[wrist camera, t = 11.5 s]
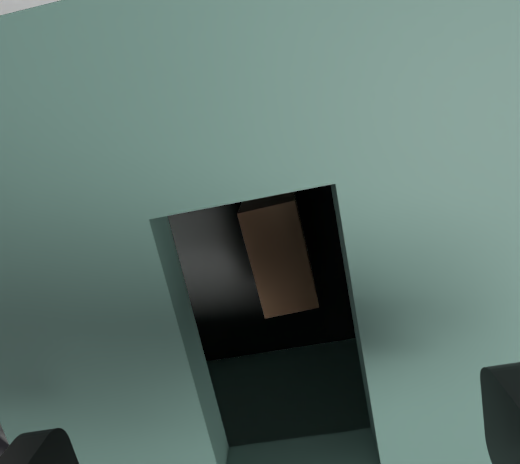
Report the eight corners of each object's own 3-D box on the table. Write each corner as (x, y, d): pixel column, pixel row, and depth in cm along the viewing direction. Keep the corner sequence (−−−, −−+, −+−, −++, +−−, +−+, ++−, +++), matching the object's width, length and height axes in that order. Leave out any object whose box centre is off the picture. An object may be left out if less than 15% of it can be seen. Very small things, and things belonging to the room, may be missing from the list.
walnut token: (291, 179, 24) (294, 200, 19) (311, 265, 25) (319, 307, 20) (246, 190, 24) (236, 213, 19) (268, 274, 25) (264, 318, 20)
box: (406, 12, 21) (598, -134, 8) (442, 343, 26) (602, 579, 13) (92, 83, 23) (-155, 54, 10) (179, 383, 28) (86, 628, 15)
